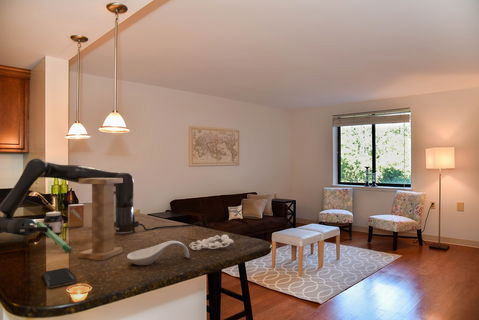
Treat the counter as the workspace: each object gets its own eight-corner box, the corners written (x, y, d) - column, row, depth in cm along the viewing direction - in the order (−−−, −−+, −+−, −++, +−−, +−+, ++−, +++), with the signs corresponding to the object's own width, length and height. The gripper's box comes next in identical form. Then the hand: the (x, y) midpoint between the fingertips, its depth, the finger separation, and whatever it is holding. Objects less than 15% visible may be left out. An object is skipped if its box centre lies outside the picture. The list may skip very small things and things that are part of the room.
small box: (69, 227, 192) (69, 205, 192) (68, 225, 197) (68, 204, 197) (84, 226, 196) (84, 204, 196) (82, 224, 201) (82, 203, 202)
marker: (35, 224, 145) (36, 221, 144) (38, 224, 146) (40, 220, 146) (66, 252, 139) (68, 248, 138) (70, 251, 140) (71, 247, 140)
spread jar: (54, 236, 169) (54, 214, 169) (33, 236, 170) (33, 214, 170) (67, 231, 181) (67, 210, 181) (47, 231, 182) (47, 210, 182)
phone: (67, 267, 115) (76, 279, 103) (67, 270, 115) (76, 282, 103) (41, 272, 110) (48, 285, 98) (41, 275, 110) (48, 288, 98)
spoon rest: (128, 270, 116) (128, 250, 116) (125, 261, 126) (125, 242, 126) (192, 261, 126) (192, 242, 126) (184, 253, 136) (184, 236, 136)
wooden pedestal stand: (76, 257, 131) (76, 178, 132) (98, 249, 143) (98, 177, 143) (104, 260, 127) (104, 179, 127) (124, 252, 138) (124, 178, 139)
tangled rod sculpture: (193, 256, 136) (192, 246, 136) (186, 245, 150) (186, 236, 149) (236, 250, 142) (236, 241, 142) (226, 240, 156) (226, 232, 156)
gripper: (6, 220, 142) (35, 223, 137) (35, 216, 155) (62, 218, 150) (6, 238, 142) (35, 241, 136) (34, 231, 155) (62, 234, 150)
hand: (49, 229), depth 143 cm, fingers closed on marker, 2 cm apart
